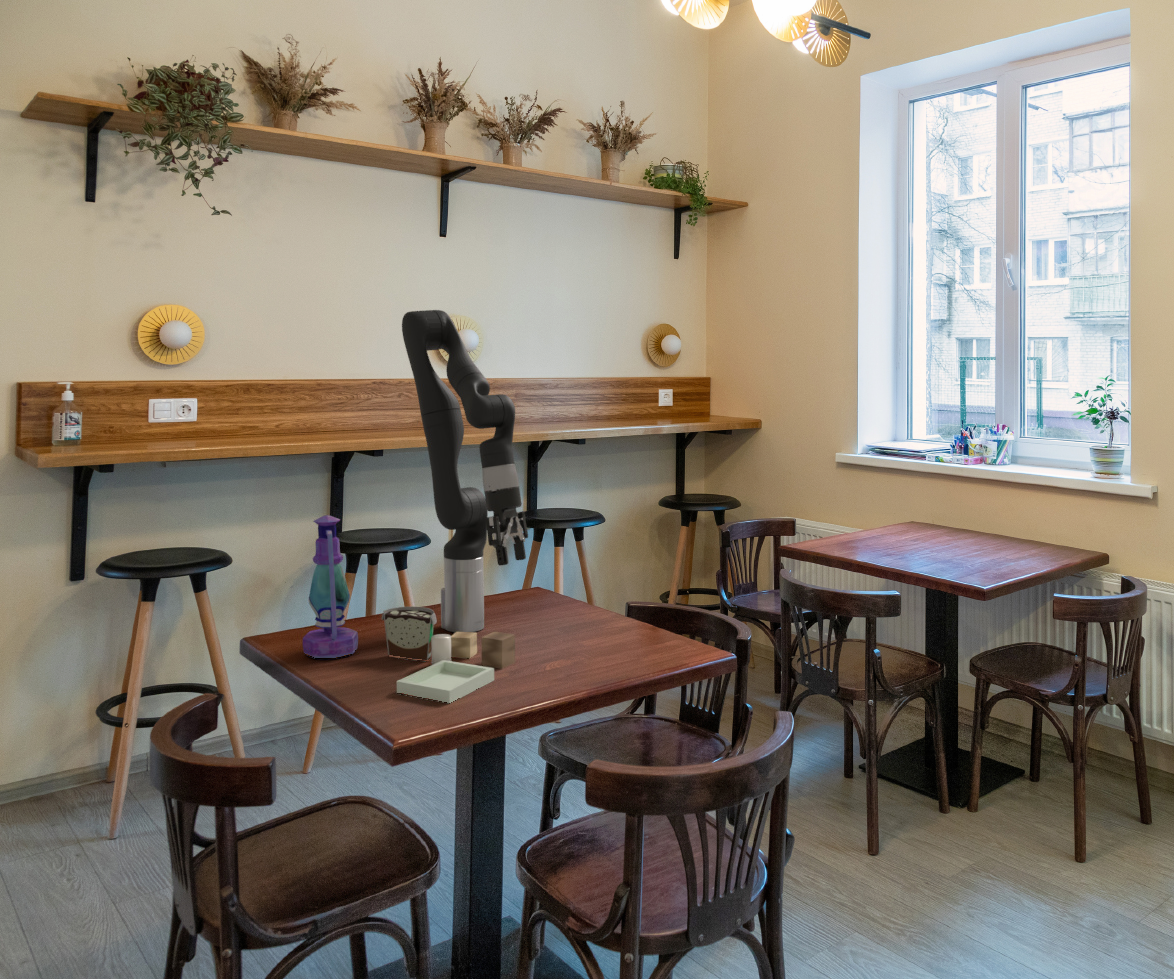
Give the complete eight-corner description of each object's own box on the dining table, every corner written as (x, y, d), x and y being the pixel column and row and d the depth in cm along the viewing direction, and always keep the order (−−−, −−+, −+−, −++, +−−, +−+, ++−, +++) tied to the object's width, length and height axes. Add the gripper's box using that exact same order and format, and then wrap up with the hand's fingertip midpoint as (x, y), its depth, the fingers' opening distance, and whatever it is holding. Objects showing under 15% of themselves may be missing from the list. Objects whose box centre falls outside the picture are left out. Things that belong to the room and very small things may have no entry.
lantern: (363, 658, 199) (359, 517, 196) (306, 665, 195) (301, 521, 191) (353, 642, 211) (349, 509, 208) (299, 648, 207) (294, 512, 203)
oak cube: (450, 657, 200) (449, 637, 200) (457, 651, 205) (456, 631, 204) (470, 659, 199) (470, 638, 199) (477, 653, 204) (476, 632, 203)
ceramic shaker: (427, 666, 194) (427, 637, 193) (439, 661, 198) (438, 633, 197) (444, 669, 192) (443, 640, 191) (455, 663, 196) (454, 635, 195)
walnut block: (481, 665, 195) (481, 637, 194) (494, 659, 199) (494, 631, 198) (502, 669, 192) (502, 640, 192) (515, 662, 197) (514, 634, 196)
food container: (447, 654, 202) (447, 608, 201) (434, 662, 197) (433, 615, 195) (397, 648, 206) (396, 604, 205) (382, 656, 201) (381, 610, 199)
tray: (396, 693, 177) (396, 681, 177) (443, 671, 190) (443, 660, 190) (449, 703, 172) (449, 690, 171) (494, 680, 185) (494, 668, 185)
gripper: (501, 488, 210) (511, 560, 210) (470, 491, 197) (481, 568, 197) (531, 483, 207) (541, 556, 207) (502, 486, 194) (513, 564, 194)
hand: (512, 562), depth 202 cm, fingers open, 8 cm apart
